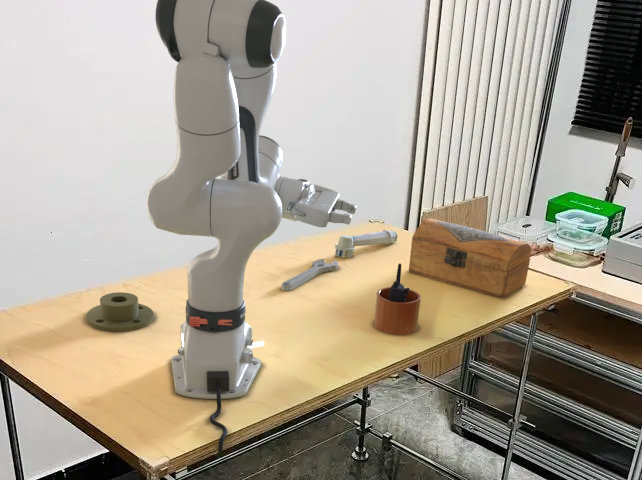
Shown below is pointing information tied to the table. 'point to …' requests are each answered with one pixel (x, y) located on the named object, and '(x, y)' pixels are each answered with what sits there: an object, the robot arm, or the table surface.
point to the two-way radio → (398, 289)
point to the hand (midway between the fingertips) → (353, 215)
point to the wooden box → (469, 258)
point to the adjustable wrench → (309, 274)
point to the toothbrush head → (363, 241)
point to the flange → (119, 313)
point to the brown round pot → (397, 313)
